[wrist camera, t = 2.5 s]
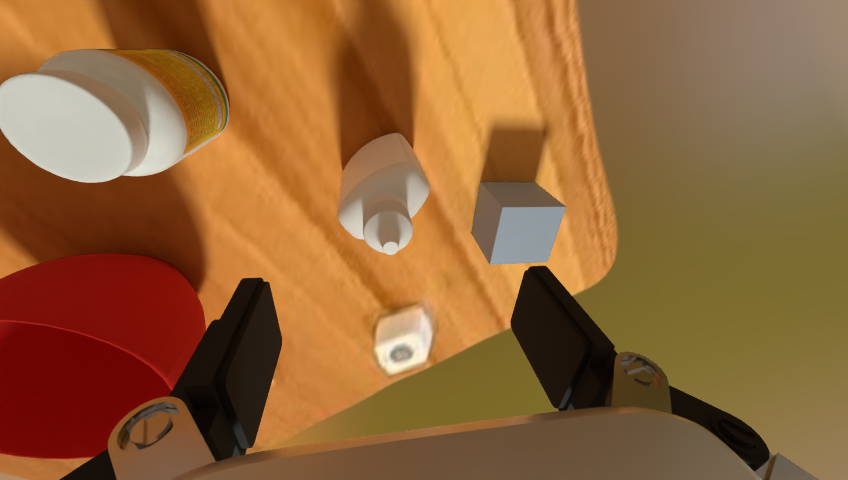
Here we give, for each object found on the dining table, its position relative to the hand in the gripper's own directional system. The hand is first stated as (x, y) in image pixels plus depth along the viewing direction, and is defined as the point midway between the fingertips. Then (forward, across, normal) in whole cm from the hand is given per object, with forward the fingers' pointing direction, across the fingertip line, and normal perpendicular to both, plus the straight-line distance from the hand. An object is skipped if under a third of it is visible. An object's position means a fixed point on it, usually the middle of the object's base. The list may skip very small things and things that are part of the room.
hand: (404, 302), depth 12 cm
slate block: (+15, -11, +3) cm, 19 cm away
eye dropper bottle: (+15, 0, -1) cm, 15 cm away
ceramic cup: (+15, +21, +9) cm, 28 cm away
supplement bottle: (+15, +12, -5) cm, 20 cm away
